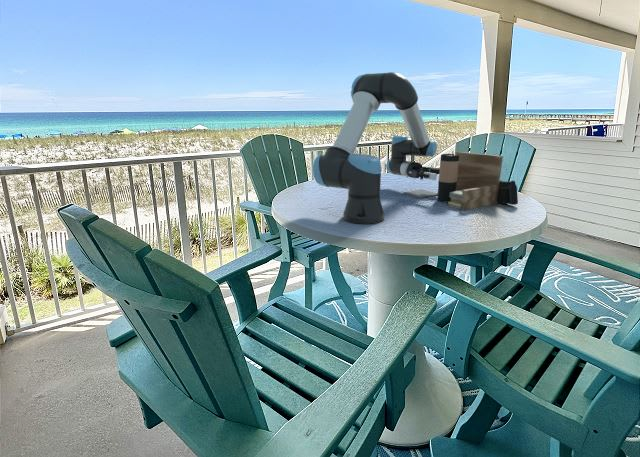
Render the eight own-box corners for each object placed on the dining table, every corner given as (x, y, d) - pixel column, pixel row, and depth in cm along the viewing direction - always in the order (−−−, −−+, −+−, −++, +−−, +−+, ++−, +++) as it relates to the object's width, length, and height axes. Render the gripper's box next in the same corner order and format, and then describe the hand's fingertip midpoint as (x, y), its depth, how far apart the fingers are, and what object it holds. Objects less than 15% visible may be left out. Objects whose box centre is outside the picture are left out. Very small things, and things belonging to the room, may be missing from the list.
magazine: (525, 186, 146) (482, 156, 170) (518, 187, 145) (476, 156, 170) (510, 222, 156) (472, 189, 180) (503, 223, 155) (466, 189, 179)
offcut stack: (463, 210, 149) (465, 195, 147) (447, 206, 155) (448, 192, 153) (485, 204, 158) (487, 190, 156) (469, 200, 164) (471, 187, 162)
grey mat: (421, 198, 168) (421, 196, 168) (402, 193, 178) (403, 192, 178) (439, 195, 174) (439, 193, 174) (421, 190, 184) (421, 189, 184)
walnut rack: (463, 210, 147) (469, 159, 141) (422, 200, 165) (426, 154, 159) (496, 203, 157) (502, 156, 151) (454, 194, 175) (458, 151, 169)
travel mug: (436, 201, 161) (440, 155, 155) (436, 198, 168) (440, 153, 162) (455, 202, 159) (460, 156, 153) (454, 198, 166) (459, 153, 160)
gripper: (429, 174, 187) (464, 181, 169) (392, 179, 174) (425, 187, 157) (430, 159, 184) (466, 164, 167) (392, 163, 172) (427, 169, 155)
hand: (446, 175), depth 162 cm, fingers open, 13 cm apart
